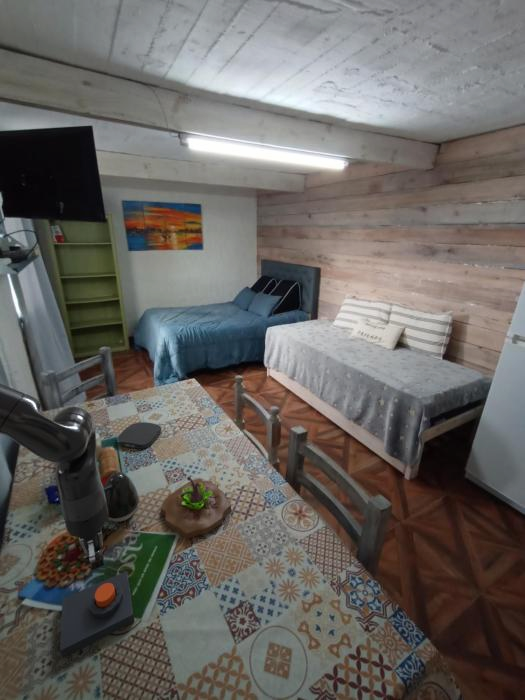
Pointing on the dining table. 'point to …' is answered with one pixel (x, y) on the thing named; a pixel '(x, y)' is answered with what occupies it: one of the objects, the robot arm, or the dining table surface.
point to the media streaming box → (139, 435)
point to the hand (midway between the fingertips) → (98, 565)
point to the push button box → (94, 615)
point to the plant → (195, 508)
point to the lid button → (105, 595)
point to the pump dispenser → (120, 497)
